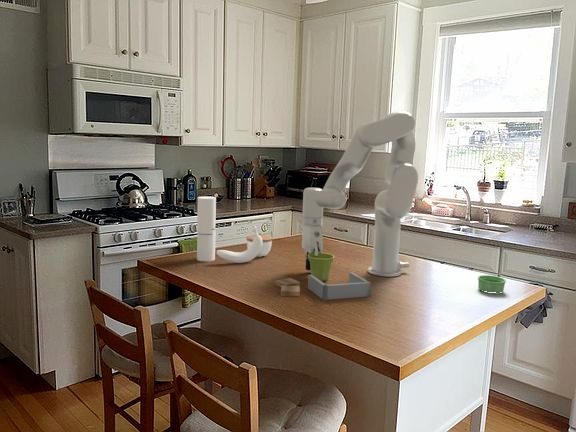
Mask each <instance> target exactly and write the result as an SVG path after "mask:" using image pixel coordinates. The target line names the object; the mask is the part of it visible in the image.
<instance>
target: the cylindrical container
mask: <svg viewBox="0 0 576 432" xmlns="http://www.w3.org/2000/svg"><path fill="white" fill-rule="evenodd" d="M216 208H217V197H216V196H206V195H205V196H198V197H197V210H196V211H197V212H196V213H197V215H196V217H197V224H196V226H197V228H196V229H197V230H196V231H197V234H196V235H197V236H196V237H197V238H196V239H197V240H196V241H197V242H196V260H197V261H198V262H213V261H215V260H216V221H217V220H216V218H217V217H216V216H217V215H216V214H217V213H216V212H217V211H216V210H217V209H216Z"/></svg>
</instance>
